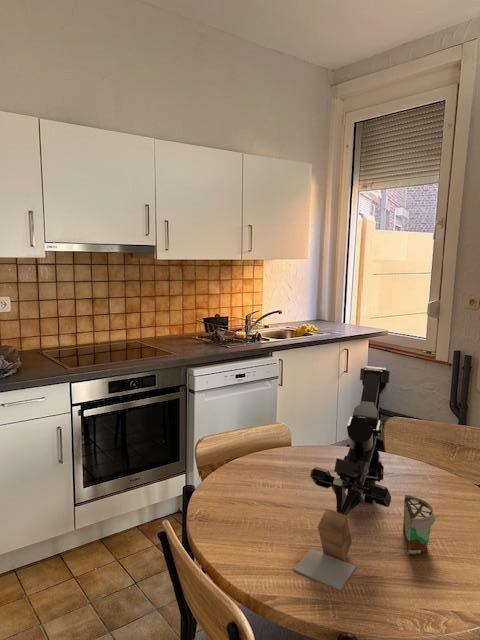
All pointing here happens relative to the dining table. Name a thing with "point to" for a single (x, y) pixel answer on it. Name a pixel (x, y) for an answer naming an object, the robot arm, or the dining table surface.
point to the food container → (417, 525)
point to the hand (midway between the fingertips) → (338, 520)
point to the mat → (325, 569)
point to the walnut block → (335, 534)
